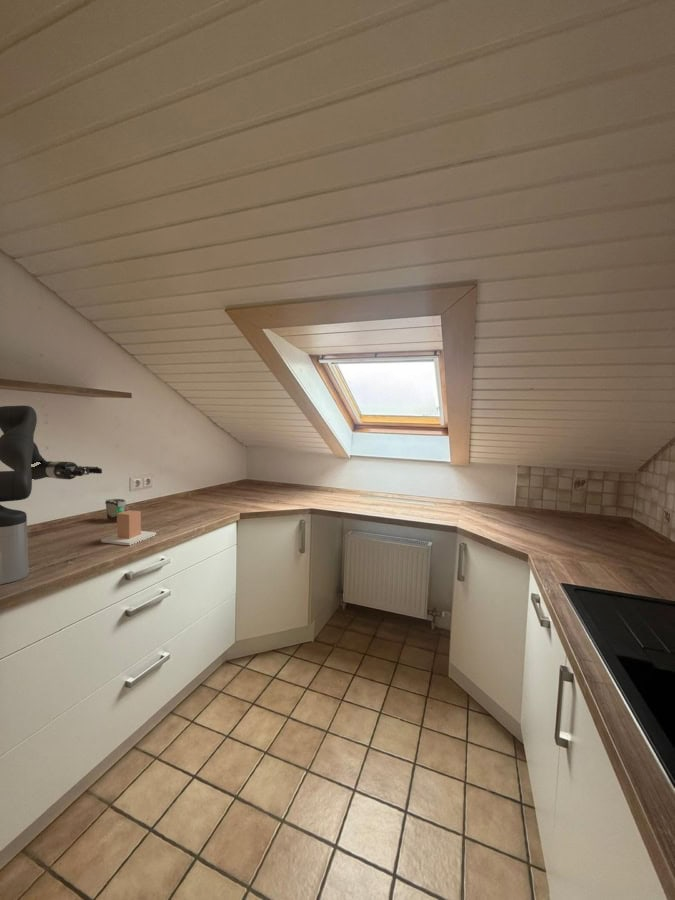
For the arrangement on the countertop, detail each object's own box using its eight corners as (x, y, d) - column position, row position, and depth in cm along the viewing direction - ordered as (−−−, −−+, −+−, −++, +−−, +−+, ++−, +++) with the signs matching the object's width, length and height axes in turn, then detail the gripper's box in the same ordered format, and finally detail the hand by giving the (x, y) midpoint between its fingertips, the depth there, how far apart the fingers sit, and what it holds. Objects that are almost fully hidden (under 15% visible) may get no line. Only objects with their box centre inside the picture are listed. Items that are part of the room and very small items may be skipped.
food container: (131, 520, 171) (131, 500, 170) (118, 523, 165) (118, 503, 165) (118, 516, 177) (118, 497, 176) (105, 519, 172) (105, 499, 171)
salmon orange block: (129, 538, 140) (129, 514, 140) (117, 537, 142) (117, 513, 141) (140, 534, 146) (140, 511, 145) (129, 533, 147) (129, 510, 147)
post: (129, 545, 136) (129, 524, 135) (101, 542, 139) (100, 521, 138) (156, 535, 149) (155, 516, 149) (129, 532, 152) (129, 513, 152)
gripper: (44, 463, 140) (74, 464, 136) (78, 460, 154) (107, 461, 150) (44, 481, 140) (75, 483, 137) (78, 476, 154) (107, 478, 150)
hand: (91, 472), depth 143 cm, fingers open, 8 cm apart
